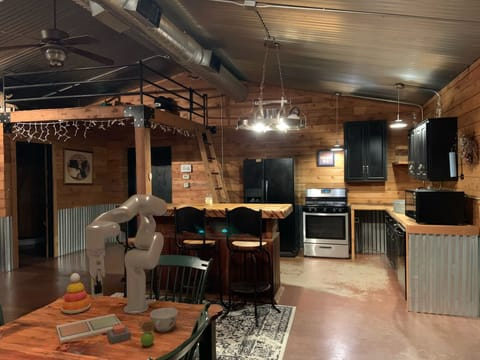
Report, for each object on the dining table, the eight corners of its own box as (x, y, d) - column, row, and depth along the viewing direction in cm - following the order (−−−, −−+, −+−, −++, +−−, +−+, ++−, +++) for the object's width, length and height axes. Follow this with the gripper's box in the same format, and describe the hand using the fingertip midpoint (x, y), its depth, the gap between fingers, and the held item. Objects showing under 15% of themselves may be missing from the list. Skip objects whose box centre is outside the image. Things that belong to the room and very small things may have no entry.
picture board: (113, 315, 179) (113, 313, 179) (123, 328, 164) (123, 325, 164) (56, 327, 165) (56, 325, 165) (60, 343, 150) (60, 340, 150)
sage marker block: (101, 293, 162) (100, 271, 162) (102, 295, 159) (102, 273, 158) (91, 295, 160) (90, 273, 160) (93, 297, 157) (92, 275, 156)
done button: (122, 330, 157) (122, 323, 157) (125, 334, 153) (125, 327, 153) (112, 332, 154) (112, 326, 154) (114, 336, 151) (114, 329, 151)
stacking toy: (95, 309, 187) (95, 272, 187) (68, 317, 177) (68, 278, 176) (83, 303, 197) (82, 268, 196) (56, 310, 186) (56, 273, 186)
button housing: (125, 332, 159) (125, 325, 159) (130, 339, 153) (130, 332, 153) (107, 336, 155) (107, 330, 155) (111, 344, 148) (111, 337, 148)
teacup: (157, 322, 170) (156, 306, 170) (181, 324, 168) (181, 307, 168) (143, 336, 155) (143, 318, 155) (170, 338, 153) (170, 320, 153)
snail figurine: (139, 342, 150) (139, 314, 149) (155, 342, 150) (155, 313, 150) (137, 348, 144) (136, 319, 144) (153, 348, 145) (152, 319, 145)
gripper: (108, 254, 154) (110, 295, 154) (100, 247, 168) (101, 285, 168) (90, 257, 150) (92, 299, 150) (83, 249, 163) (85, 288, 164)
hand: (97, 291), depth 159 cm, fingers closed on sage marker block, 4 cm apart
